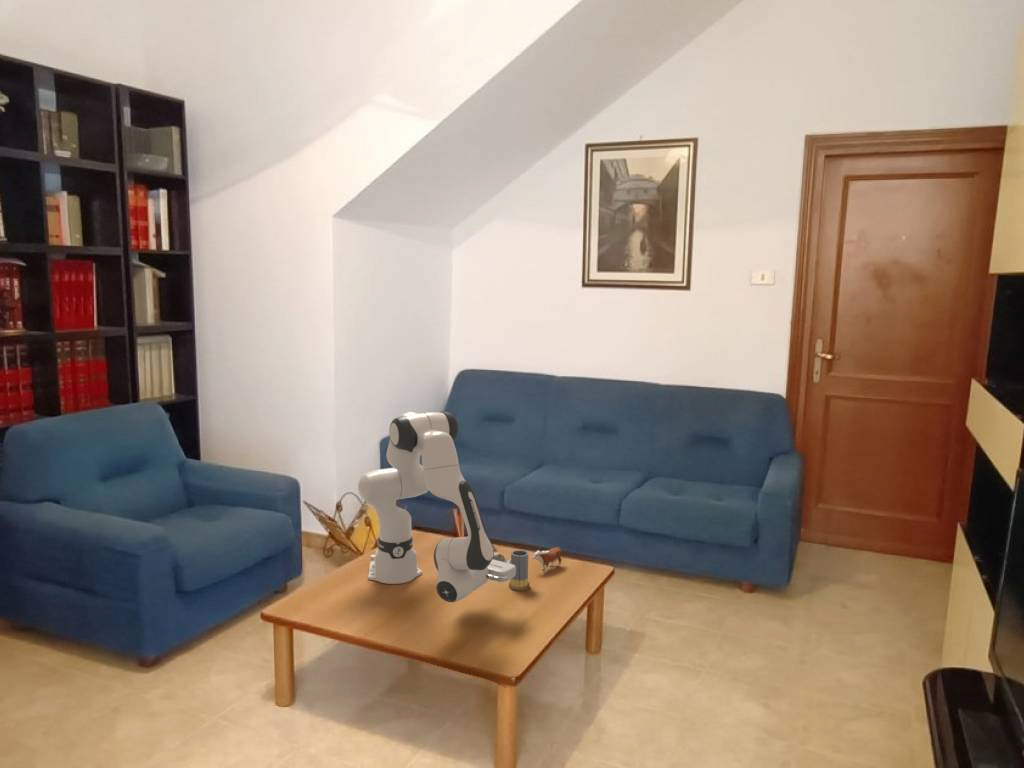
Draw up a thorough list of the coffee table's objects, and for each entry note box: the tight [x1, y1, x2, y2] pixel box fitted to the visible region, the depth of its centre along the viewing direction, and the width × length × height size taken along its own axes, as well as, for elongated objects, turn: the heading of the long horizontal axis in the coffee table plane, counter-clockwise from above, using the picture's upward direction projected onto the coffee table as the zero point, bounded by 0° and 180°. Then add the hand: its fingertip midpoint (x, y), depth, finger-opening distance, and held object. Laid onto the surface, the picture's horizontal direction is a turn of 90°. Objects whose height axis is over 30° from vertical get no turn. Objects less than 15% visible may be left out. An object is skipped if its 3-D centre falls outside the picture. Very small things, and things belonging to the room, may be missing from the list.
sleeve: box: [510, 549, 529, 588], centre depth 262 cm, size 6×6×11 cm
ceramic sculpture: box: [493, 545, 506, 562], centre depth 280 cm, size 11×9×15 cm
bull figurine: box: [532, 546, 562, 574], centre depth 278 cm, size 4×13×8 cm, turn 132°
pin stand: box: [508, 581, 530, 592], centre depth 262 cm, size 7×7×8 cm
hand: (496, 558), depth 249 cm, fingers open, 8 cm apart
